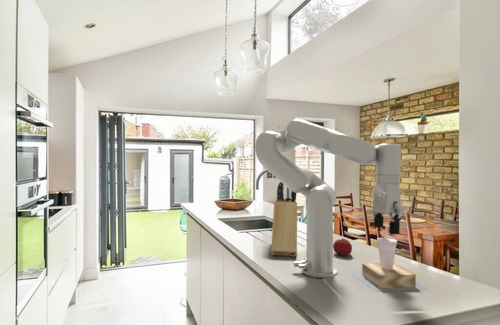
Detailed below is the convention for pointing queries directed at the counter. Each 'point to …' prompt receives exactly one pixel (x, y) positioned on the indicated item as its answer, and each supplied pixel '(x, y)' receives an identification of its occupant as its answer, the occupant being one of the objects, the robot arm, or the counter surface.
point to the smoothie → (386, 251)
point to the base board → (376, 288)
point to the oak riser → (388, 276)
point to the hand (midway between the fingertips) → (385, 230)
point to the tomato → (342, 247)
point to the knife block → (284, 225)
